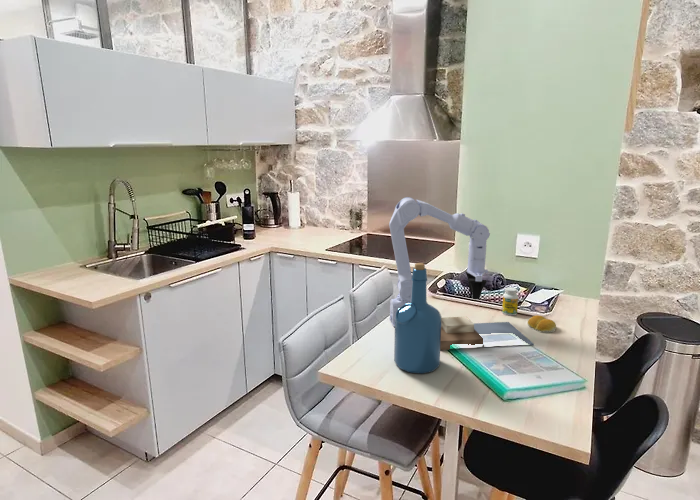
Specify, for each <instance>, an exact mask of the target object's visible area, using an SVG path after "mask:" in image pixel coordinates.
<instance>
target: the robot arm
mask: <svg viewBox="0 0 700 500" xmlns="http://www.w3.org/2000/svg"><path fill="white" fill-rule="evenodd" d="M424 216H425V217H426V216H430V217H432V218H434V219H437V220H440V221H442V222H444V223H447V224H448V226H449V228H450V230H453V231H455V232H457V233H460V234H462V235H464V236H467V237H468V236H469V244H468V255H467V256H468V257H467V269H466V271H465V274H466V277H467V281H468V289H469V290H468V291H469V292H470V293H471V295H472V299H473V300H480V298H481V295H482V293H483V289H484V287H485V285H486V284H487V279H483V276H484V275H485V274H488V273H489V270H488V269H486V257H487V256H486V255H487V242H488V241H487V240H488V239H489V238H490V234H491V233H490V230H489V227H488V226H487V225H485V224H483V223H481V222H480V221H479V220H477V219H476V218H474V219H472V218H470V217H467V216H466V214H465V213H463V212H461V213H458V212H457V213H456V212H455V213H454V214H451V213H449V212H447V211H445V210H442V209H441V208H439V207H436V206H435V205H433V204H430V203H428V202H427V201H423V200H420V199H414V198H413V197H409V196H407V197H406V196H405V197H403V198H402V199H400V201H398V202H397V204H396V205H395V207H394V210H393V213H392V215H391V218H390V220H389V225H388V227H389V231H390V237H391V238H390V239H391V244H392V248H393V252H394V259H395V265H396V270H397V277H398V280H397V284H396V286H397V287H396V288H397V290H398V294H397V295H396V298H391V299H390V300H389V321H390V323H391V324H392V327H394V328H395V316H396V312H397V310H398V309H399V308H400V307H401V306H403V305H405V304H407V303H410V302H411V292H412V280H411V279H412V270H411V264H410V257H409V253H408V246H407V242H406V235H405V228H406V226H407V225H408V224H409V223H410V222H411V221H413V220H415V219H416V218H417V217H424Z"/></svg>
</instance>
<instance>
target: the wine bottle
mask: <svg viewBox="0 0 700 500" xmlns="http://www.w3.org/2000/svg"><path fill="white" fill-rule="evenodd" d="M427 273H428V272H427V268H426V265H425V263H423V262H415V263H414V267H412V272H411V274H412V279H411V280H412V292H411V302H410V303H407V304H405V305H403V306H401V307H400V308H399V309H398V310H397V312H396V316H395V327H394V350H393V351H394V354H393V355H394V356H393V357H394V359H393V360H394V363H395V365H396V366H397V367H398V368H399V369H400V370H403V371H405V372H408V373H410V374H411V373H412V374H425V373H426V374H427V373H433V372H434V371H436V370H437V369H438V368H439V366H440V363H441V350H440V344H441V320H442V318H443V317H442V314H441V312H440V311H439V310H438V309H437V308H436V307H434V306H433V305H432V304H430V303H428V302H427V300H428V299H427V298H428V297H427V296H428V295H427V294H428V293H427V292H428V291H427V281H428V274H427Z"/></svg>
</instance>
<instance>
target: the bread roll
mask: <svg viewBox="0 0 700 500" xmlns="http://www.w3.org/2000/svg"><path fill="white" fill-rule="evenodd" d="M527 325H528V327H529V328H530V329H532V330H535V331H537V332H540V333H553V332H555V331H556V328H557V324H556V322H555V321H554V320H552V319H549V318H546V317H544V316H542V315H538V314H536V315H533V316H531V317H530V318H529V319H528V320H527Z"/></svg>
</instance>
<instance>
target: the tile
mask: <svg viewBox="0 0 700 500" xmlns="http://www.w3.org/2000/svg"><path fill="white" fill-rule="evenodd" d="M473 323H474V322H472V321H471V319H469V318H468V316H449V317H448V316H447V317H442V320H441V327H442V328H443V329H444V331H445V332H446V333H462V332H474V324H473Z"/></svg>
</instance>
